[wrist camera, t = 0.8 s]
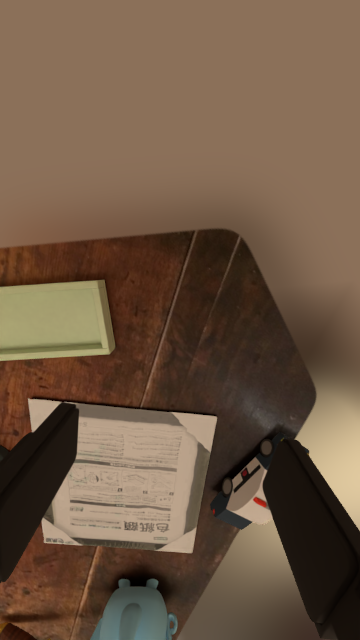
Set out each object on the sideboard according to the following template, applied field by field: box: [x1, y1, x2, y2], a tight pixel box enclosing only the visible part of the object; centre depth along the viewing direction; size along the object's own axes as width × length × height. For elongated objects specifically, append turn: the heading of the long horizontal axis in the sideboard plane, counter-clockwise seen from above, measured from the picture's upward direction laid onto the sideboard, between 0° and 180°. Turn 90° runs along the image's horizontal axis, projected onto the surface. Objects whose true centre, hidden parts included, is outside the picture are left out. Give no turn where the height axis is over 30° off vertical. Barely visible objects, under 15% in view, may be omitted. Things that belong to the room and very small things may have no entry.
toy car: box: [210, 432, 309, 530], centre depth 27 cm, size 5×16×5 cm, turn 144°
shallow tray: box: [0, 280, 115, 361], centre depth 23 cm, size 9×20×2 cm, turn 94°
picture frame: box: [28, 398, 217, 553], centre depth 30 cm, size 26×1×30 cm
